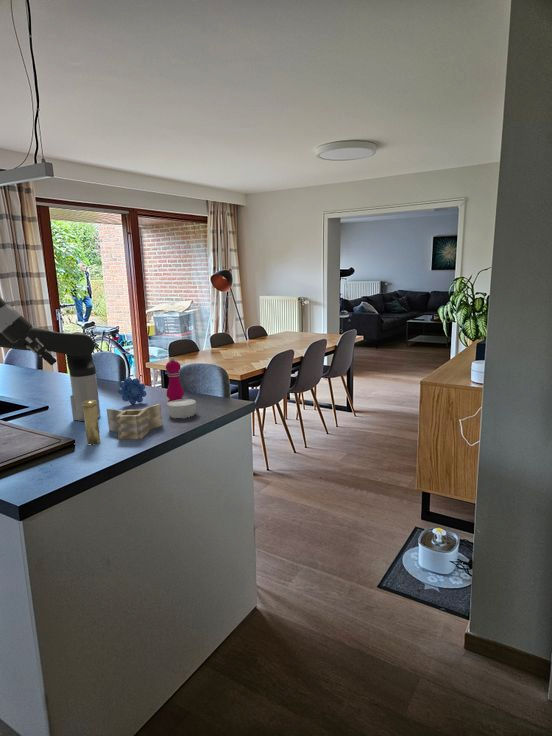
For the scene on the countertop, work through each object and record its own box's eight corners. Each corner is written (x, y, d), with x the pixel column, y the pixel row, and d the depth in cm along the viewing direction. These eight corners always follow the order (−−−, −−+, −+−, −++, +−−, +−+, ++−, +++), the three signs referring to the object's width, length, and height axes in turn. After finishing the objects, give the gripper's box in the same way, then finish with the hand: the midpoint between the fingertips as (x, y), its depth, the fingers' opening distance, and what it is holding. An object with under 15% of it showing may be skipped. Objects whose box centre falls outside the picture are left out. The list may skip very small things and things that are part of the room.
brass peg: (84, 445, 154) (79, 403, 152) (90, 440, 159) (85, 400, 156) (97, 445, 154) (92, 403, 152) (103, 440, 159) (98, 399, 156)
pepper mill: (176, 406, 197) (172, 359, 193) (163, 405, 201) (159, 358, 197) (188, 402, 203) (184, 356, 199) (175, 400, 207) (172, 355, 203)
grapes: (122, 408, 197) (119, 380, 195) (118, 405, 203) (115, 377, 200) (150, 404, 203) (147, 376, 201) (145, 400, 209) (143, 374, 206)
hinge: (97, 439, 160) (94, 416, 158) (114, 425, 174) (112, 404, 173) (149, 438, 158) (147, 415, 157) (162, 424, 173) (161, 403, 172)
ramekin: (186, 409, 192) (185, 397, 191) (203, 414, 184) (202, 401, 183) (162, 416, 185) (161, 403, 184) (178, 421, 177) (177, 407, 176)
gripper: (1, 333, 145) (43, 370, 150) (-2, 331, 132) (44, 372, 137) (21, 316, 147) (62, 354, 152) (20, 313, 134) (64, 354, 140)
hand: (53, 362), depth 145 cm, fingers open, 8 cm apart
